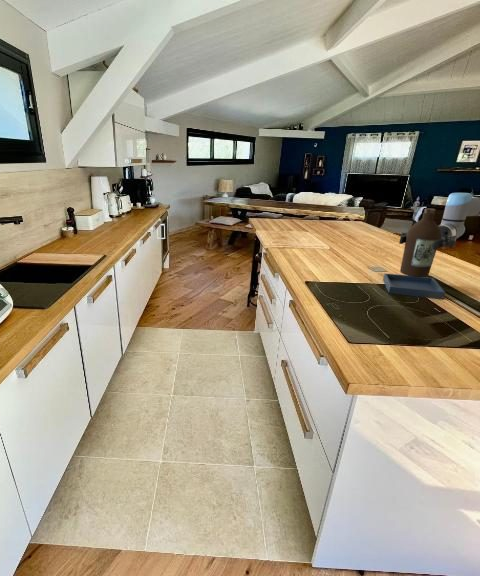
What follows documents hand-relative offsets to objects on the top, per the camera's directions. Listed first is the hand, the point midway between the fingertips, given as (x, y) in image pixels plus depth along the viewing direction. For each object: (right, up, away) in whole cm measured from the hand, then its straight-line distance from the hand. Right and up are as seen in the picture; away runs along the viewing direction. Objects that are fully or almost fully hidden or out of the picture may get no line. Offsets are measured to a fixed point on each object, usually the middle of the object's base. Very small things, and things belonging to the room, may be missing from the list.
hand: (417, 243), depth 117 cm
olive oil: (+4, -11, +7) cm, 14 cm away
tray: (+4, -17, +9) cm, 20 cm away
